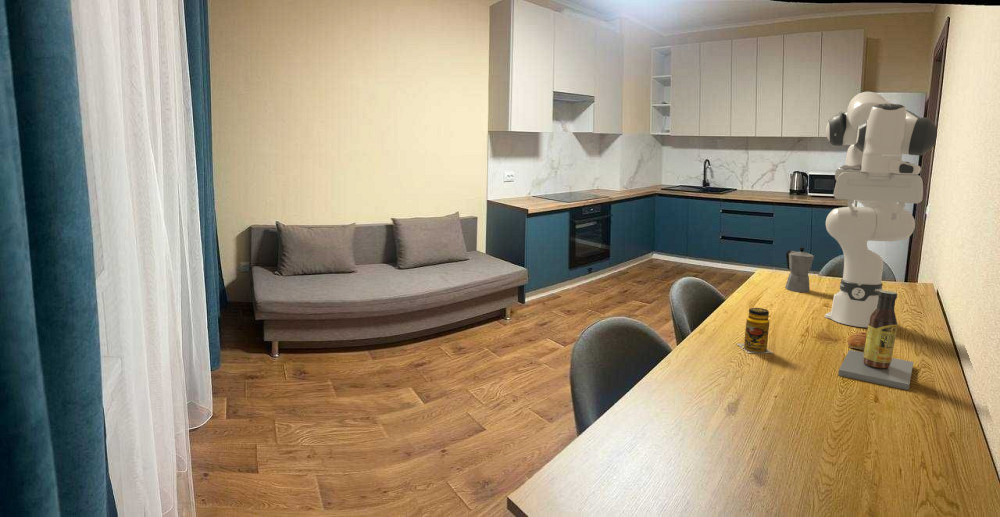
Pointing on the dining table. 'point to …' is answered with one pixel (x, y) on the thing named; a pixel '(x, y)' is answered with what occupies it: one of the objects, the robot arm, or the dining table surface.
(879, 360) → the sauce bottle
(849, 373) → the serving board
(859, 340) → the pastry
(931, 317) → the dining table surface
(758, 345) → the condiment
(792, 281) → the coffeepot
